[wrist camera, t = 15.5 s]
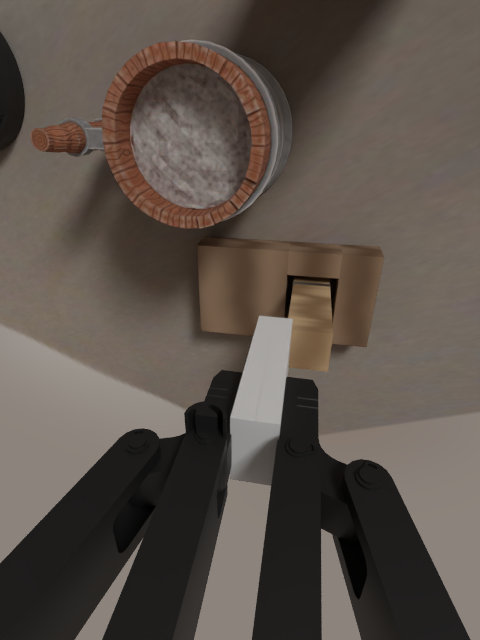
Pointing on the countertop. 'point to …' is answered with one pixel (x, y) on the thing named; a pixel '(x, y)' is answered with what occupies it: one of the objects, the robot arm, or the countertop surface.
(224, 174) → the mug
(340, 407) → the countertop surface
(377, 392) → the countertop surface
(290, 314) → the peg
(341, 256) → the board
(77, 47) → the countertop surface
